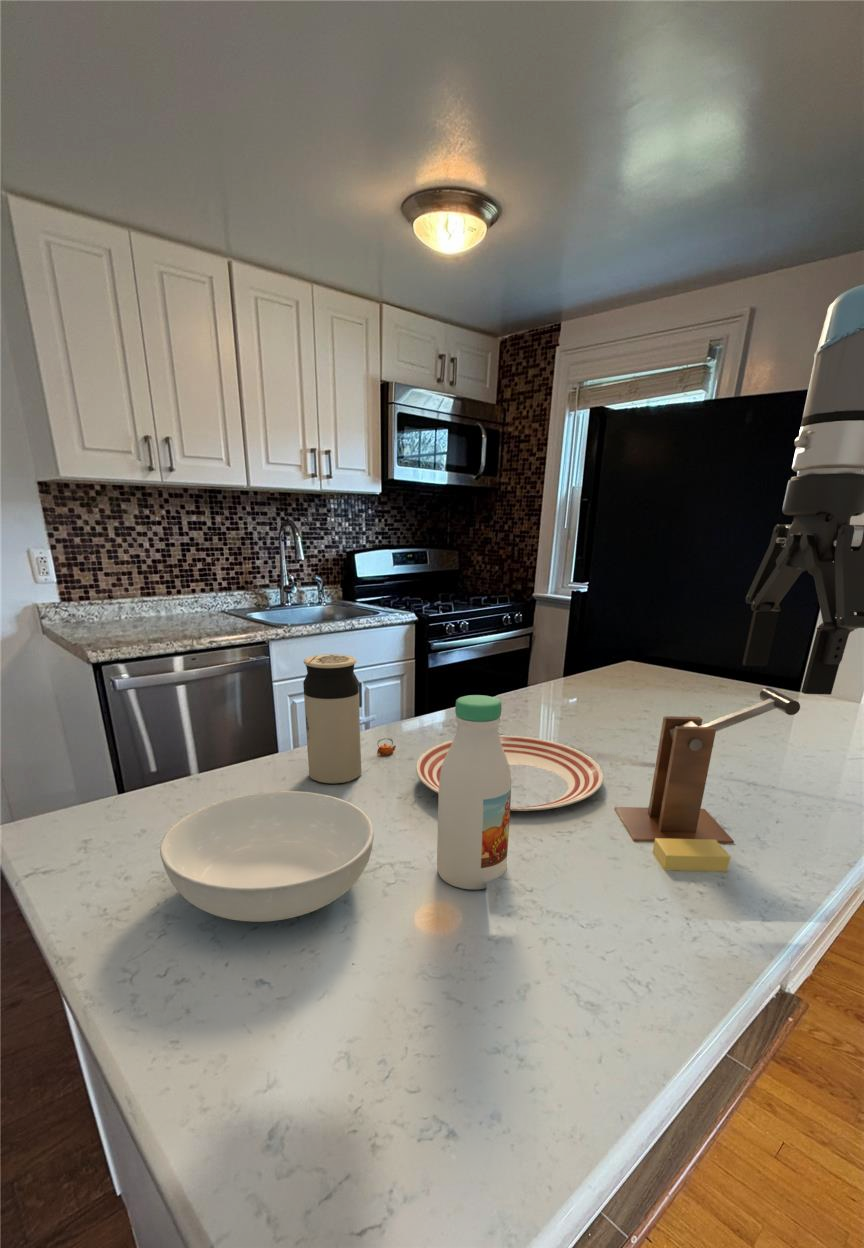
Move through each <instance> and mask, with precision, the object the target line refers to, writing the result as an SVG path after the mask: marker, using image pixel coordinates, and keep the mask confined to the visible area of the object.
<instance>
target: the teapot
mask: <svg viewBox="0 0 864 1248" xmlns="http://www.w3.org/2000/svg"><path fill="white" fill-rule="evenodd" d="M383 740H385V738H381V739H379V740H378V741H377V743H380V742H381V741H383ZM388 740H389V741H390V742H391V745H389V744H386V743H384V744H382V745H380V746H379V744H377V747H378V748H377V751H376V755H377V756H378V757H387V756H391V755H392V754H393V753H394V751H395V750H396V747H397V745H393V744H394V741H393V739H391V738H388Z"/></svg>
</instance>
